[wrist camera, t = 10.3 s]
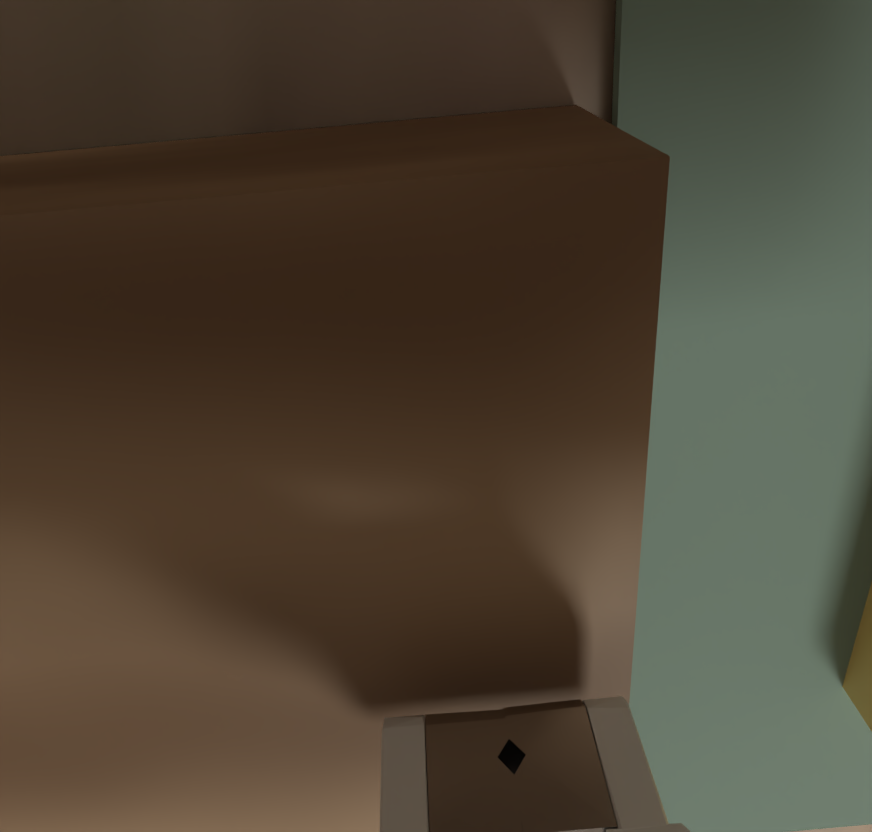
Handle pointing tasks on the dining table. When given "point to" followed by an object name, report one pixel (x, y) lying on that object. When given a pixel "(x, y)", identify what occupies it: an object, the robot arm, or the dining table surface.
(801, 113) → the mat
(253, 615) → the board
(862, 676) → the yellow block
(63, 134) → the dining table surface
